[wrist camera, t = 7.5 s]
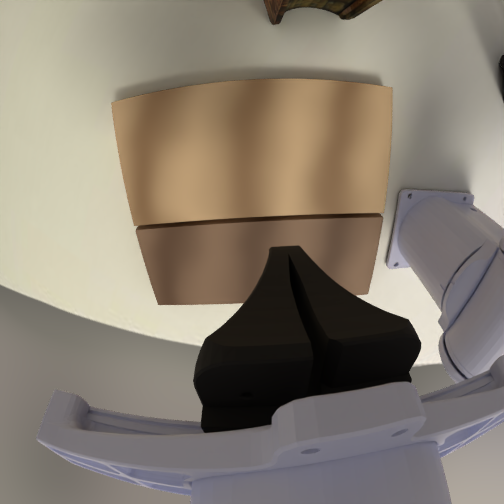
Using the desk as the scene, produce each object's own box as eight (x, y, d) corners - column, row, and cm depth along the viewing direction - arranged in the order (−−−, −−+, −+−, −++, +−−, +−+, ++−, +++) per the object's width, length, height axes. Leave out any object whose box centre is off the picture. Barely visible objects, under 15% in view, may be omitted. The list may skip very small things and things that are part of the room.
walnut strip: (375, 209, 22) (383, 217, 21) (362, 283, 26) (367, 294, 25) (141, 221, 23) (135, 230, 21) (162, 294, 27) (158, 304, 25)
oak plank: (383, 87, 17) (392, 87, 15) (376, 205, 22) (383, 212, 20) (119, 101, 17) (111, 102, 16) (140, 218, 22) (134, 225, 21)
